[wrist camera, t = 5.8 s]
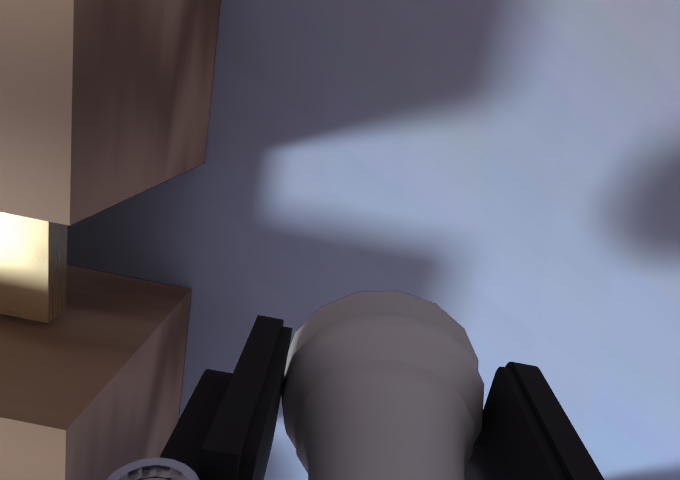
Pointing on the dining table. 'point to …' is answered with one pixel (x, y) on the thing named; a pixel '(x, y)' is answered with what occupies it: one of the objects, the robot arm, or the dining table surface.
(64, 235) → the gold metallic block
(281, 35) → the dining table surface
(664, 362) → the dining table surface
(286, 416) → the rook chess piece
